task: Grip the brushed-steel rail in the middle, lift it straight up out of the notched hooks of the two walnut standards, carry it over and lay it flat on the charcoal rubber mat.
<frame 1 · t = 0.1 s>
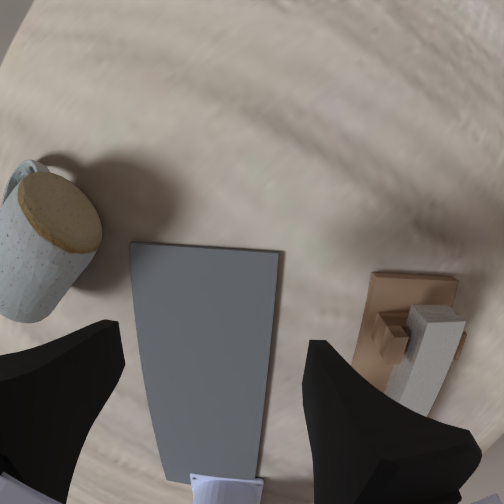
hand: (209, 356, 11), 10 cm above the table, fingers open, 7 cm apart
walnut standards: (377, 402, 23), on the table
rubber mat: (204, 406, 24), on the table
ceramic mug: (56, 222, 21), on the table
steel rail: (386, 425, 20), point 3 cm above the table, touching walnut standards
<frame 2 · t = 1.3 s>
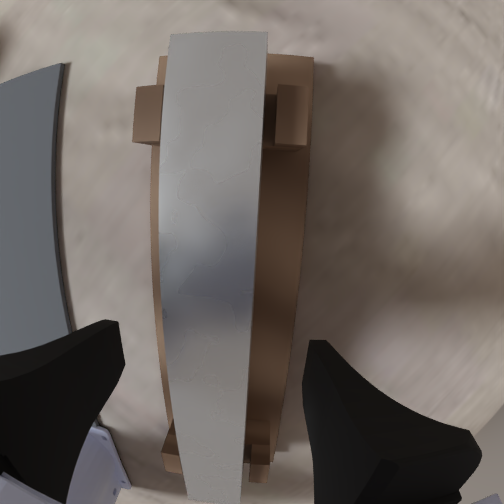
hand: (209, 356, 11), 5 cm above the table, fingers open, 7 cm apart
walnut standards: (225, 301, 16), on the table
rubber mat: (13, 288, 17), on the table
steel rail: (216, 329, 13), point 3 cm above the table, touching walnut standards
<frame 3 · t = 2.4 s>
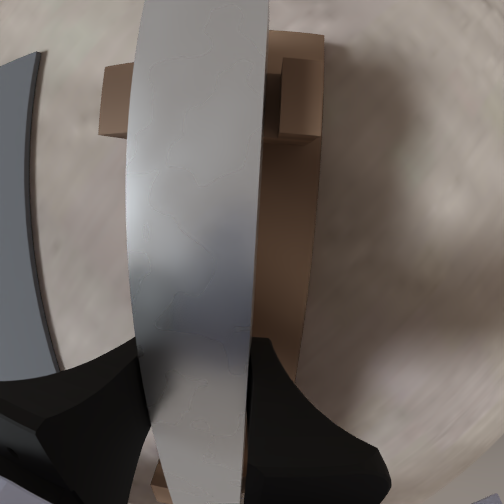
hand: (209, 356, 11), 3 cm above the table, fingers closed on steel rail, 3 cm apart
walnut standards: (219, 321, 13), on the table
steel rail: (207, 360, 11), point 3 cm above the table, touching gripper, walnut standards
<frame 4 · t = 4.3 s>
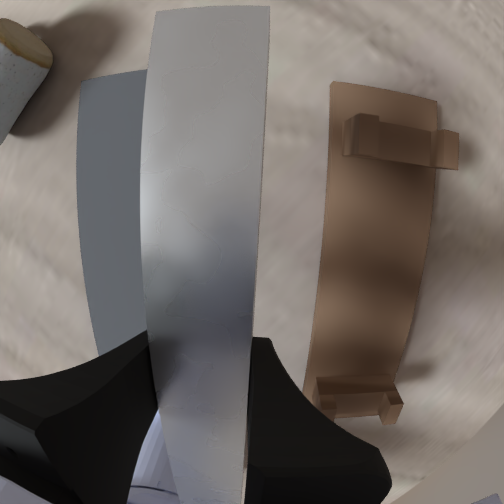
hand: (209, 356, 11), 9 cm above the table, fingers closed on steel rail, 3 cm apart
walnut standards: (369, 276, 20), on the table
rubber mat: (146, 279, 20), on the table
ceramic mug: (18, 81, 17), on the table
steel rail: (212, 348, 11), point 9 cm above the table, touching gripper
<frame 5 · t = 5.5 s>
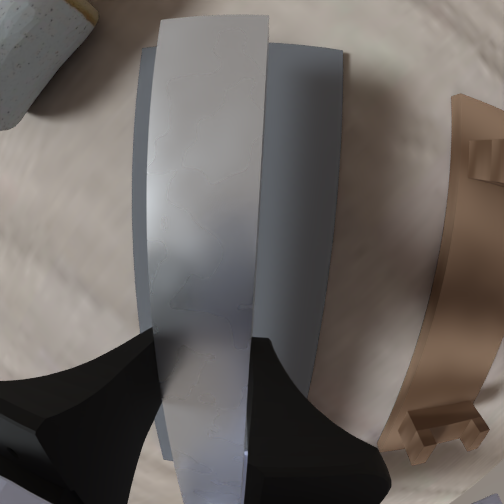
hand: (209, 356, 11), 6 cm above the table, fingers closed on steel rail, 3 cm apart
walnut standards: (470, 304, 16), on the table
rubber mat: (227, 314, 16), on the table
ceramic mug: (42, 48, 13), on the table
steel rail: (213, 342, 12), point 5 cm above the table, touching gripper
when the fingers open (2 cm above the table, at t = 6.5 s): steel rail stays where it is, resting on rubber mat.
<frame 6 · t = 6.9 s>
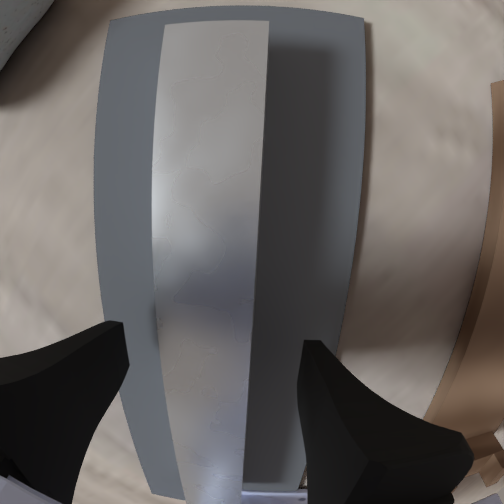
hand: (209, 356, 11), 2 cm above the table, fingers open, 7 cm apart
walnut standards: (503, 331, 12), on the table
rubber mat: (216, 351, 13), on the table
ceramic mug: (5, 31, 9), on the table
steel rail: (215, 337, 12), resting on rubber mat
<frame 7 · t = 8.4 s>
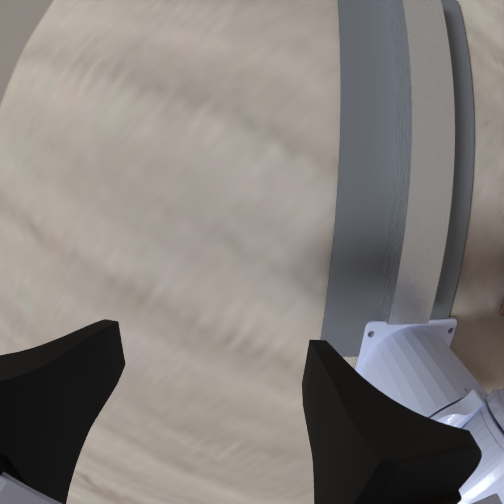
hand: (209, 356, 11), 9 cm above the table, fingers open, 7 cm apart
rubber mat: (412, 159, 17), on the table
steel rail: (415, 144, 17), resting on rubber mat
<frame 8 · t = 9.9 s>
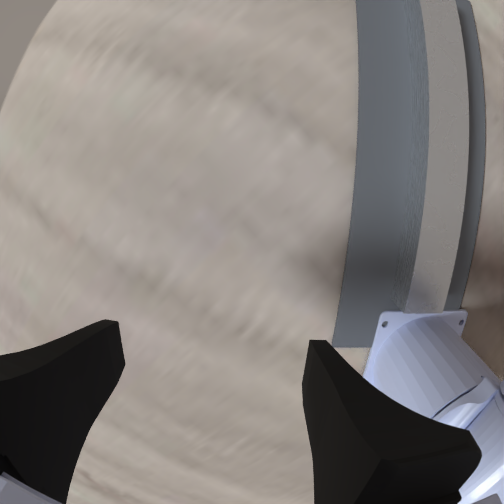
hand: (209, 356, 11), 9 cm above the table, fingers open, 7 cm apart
rubber mat: (427, 150, 17), on the table
steel rail: (430, 135, 16), resting on rubber mat
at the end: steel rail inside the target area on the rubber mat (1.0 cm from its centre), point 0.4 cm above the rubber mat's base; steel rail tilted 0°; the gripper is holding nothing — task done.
